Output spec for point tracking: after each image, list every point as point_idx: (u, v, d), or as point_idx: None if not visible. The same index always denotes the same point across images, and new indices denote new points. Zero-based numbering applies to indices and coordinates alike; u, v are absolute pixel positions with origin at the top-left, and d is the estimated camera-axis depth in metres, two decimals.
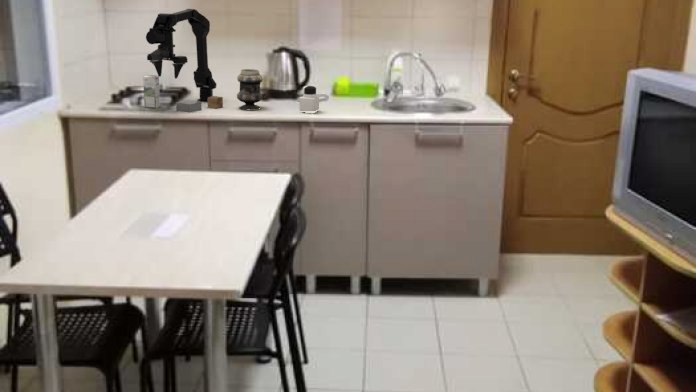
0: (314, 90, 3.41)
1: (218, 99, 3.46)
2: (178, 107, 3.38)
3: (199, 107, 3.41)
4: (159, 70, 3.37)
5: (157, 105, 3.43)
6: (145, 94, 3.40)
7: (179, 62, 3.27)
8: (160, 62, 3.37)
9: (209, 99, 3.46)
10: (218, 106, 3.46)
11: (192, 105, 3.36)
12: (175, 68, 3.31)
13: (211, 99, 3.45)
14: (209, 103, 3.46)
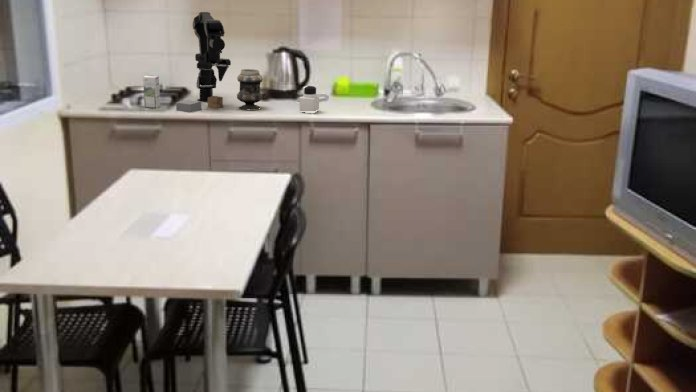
0: (314, 90, 3.41)
1: (218, 99, 3.46)
2: (178, 107, 3.38)
3: (199, 107, 3.41)
4: (219, 75, 3.48)
5: (157, 105, 3.43)
6: (145, 94, 3.40)
7: (197, 66, 3.36)
8: (223, 68, 3.47)
9: (209, 99, 3.46)
10: (218, 106, 3.46)
11: (192, 105, 3.36)
12: None
13: (211, 99, 3.45)
14: (209, 103, 3.46)
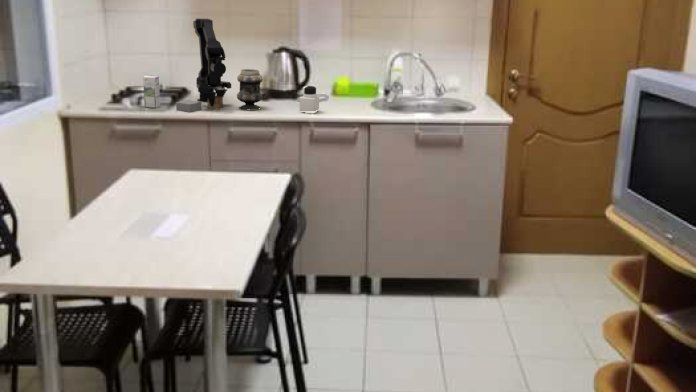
0: (314, 90, 3.41)
1: (218, 99, 3.46)
2: (178, 107, 3.38)
3: (199, 107, 3.41)
4: None
5: (157, 105, 3.43)
6: (145, 94, 3.40)
7: (198, 90, 3.39)
8: (221, 91, 3.49)
9: None
10: (218, 106, 3.46)
11: (191, 105, 3.36)
12: None
13: None
14: (209, 103, 3.46)
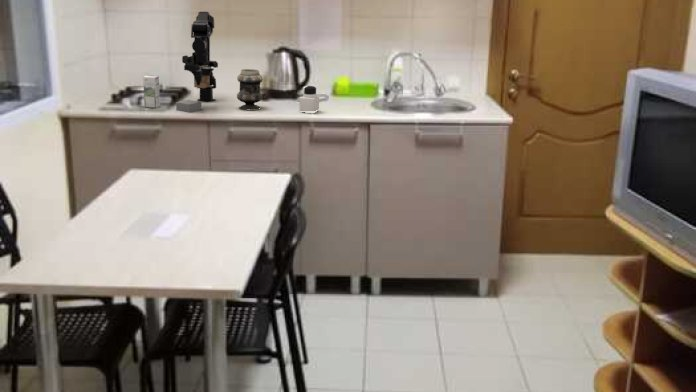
0: (314, 90, 3.41)
1: (205, 78, 3.38)
2: (178, 107, 3.38)
3: (199, 107, 3.41)
4: None
5: (157, 105, 3.43)
6: (145, 94, 3.40)
7: (184, 69, 3.32)
8: (207, 70, 3.41)
9: None
10: (205, 85, 3.39)
11: (191, 105, 3.36)
12: None
13: None
14: None
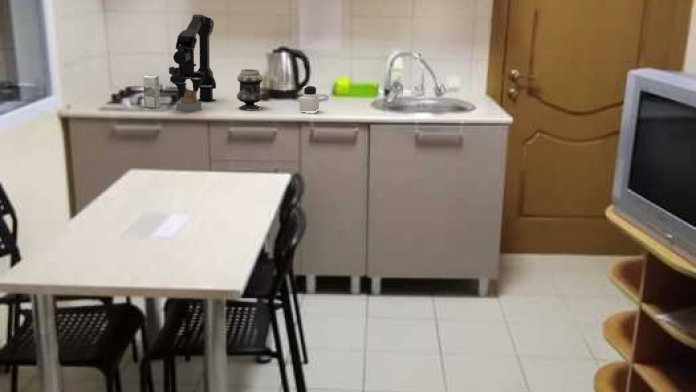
0: (314, 90, 3.41)
1: (191, 93, 3.37)
2: (178, 107, 3.39)
3: (199, 107, 3.40)
4: (194, 88, 3.42)
5: (157, 105, 3.43)
6: (145, 94, 3.40)
7: (170, 80, 3.30)
8: (197, 81, 3.41)
9: None
10: (192, 100, 3.37)
11: (191, 105, 3.36)
12: None
13: (184, 93, 3.36)
14: None
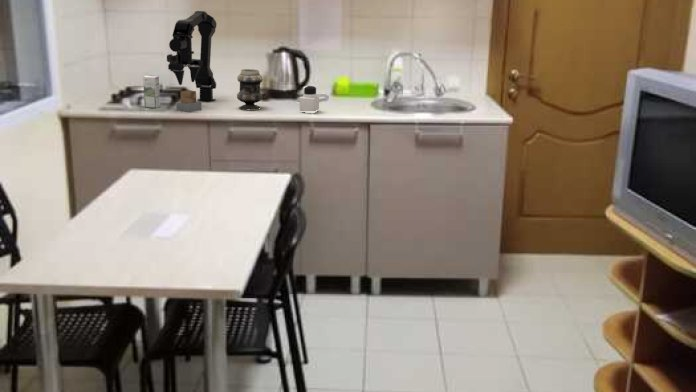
0: (314, 90, 3.41)
1: (191, 93, 3.37)
2: (178, 107, 3.39)
3: (199, 107, 3.40)
4: (192, 76, 3.44)
5: (157, 105, 3.43)
6: (145, 94, 3.40)
7: (168, 68, 3.31)
8: (195, 68, 3.42)
9: (182, 93, 3.37)
10: (191, 100, 3.37)
11: (191, 105, 3.36)
12: None
13: (184, 93, 3.36)
14: (182, 97, 3.37)
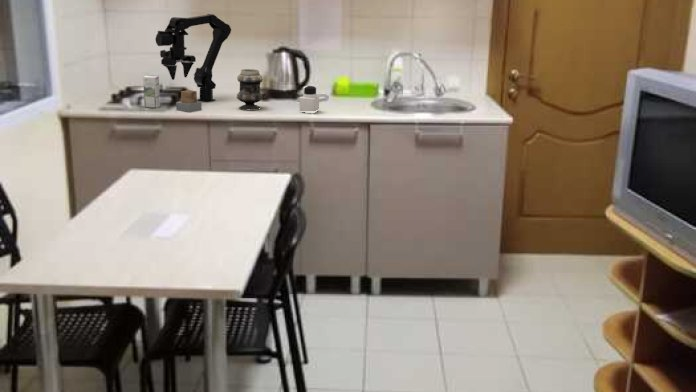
0: (314, 90, 3.41)
1: (192, 93, 3.37)
2: (178, 107, 3.39)
3: (199, 107, 3.40)
4: (185, 71, 3.54)
5: (157, 105, 3.43)
6: (145, 94, 3.40)
7: (161, 63, 3.42)
8: (187, 64, 3.53)
9: (183, 93, 3.37)
10: (192, 100, 3.38)
11: (191, 105, 3.36)
12: None
13: (185, 93, 3.36)
14: (183, 97, 3.37)
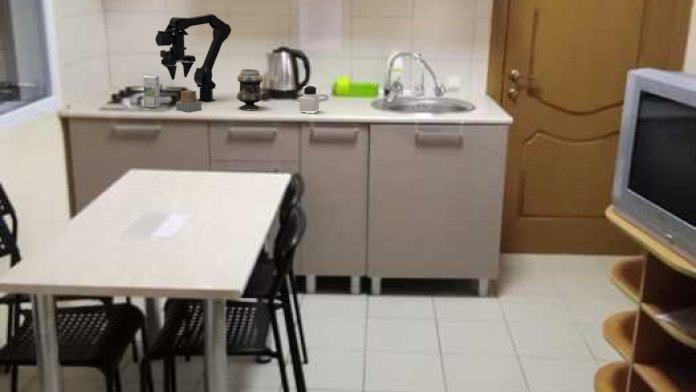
0: (314, 90, 3.41)
1: (192, 93, 3.37)
2: (178, 107, 3.39)
3: (199, 107, 3.41)
4: (185, 71, 3.54)
5: (157, 105, 3.43)
6: (145, 94, 3.40)
7: (161, 63, 3.42)
8: (187, 64, 3.53)
9: (182, 93, 3.37)
10: (192, 100, 3.38)
11: (191, 105, 3.36)
12: None
13: (184, 93, 3.36)
14: (182, 97, 3.37)
